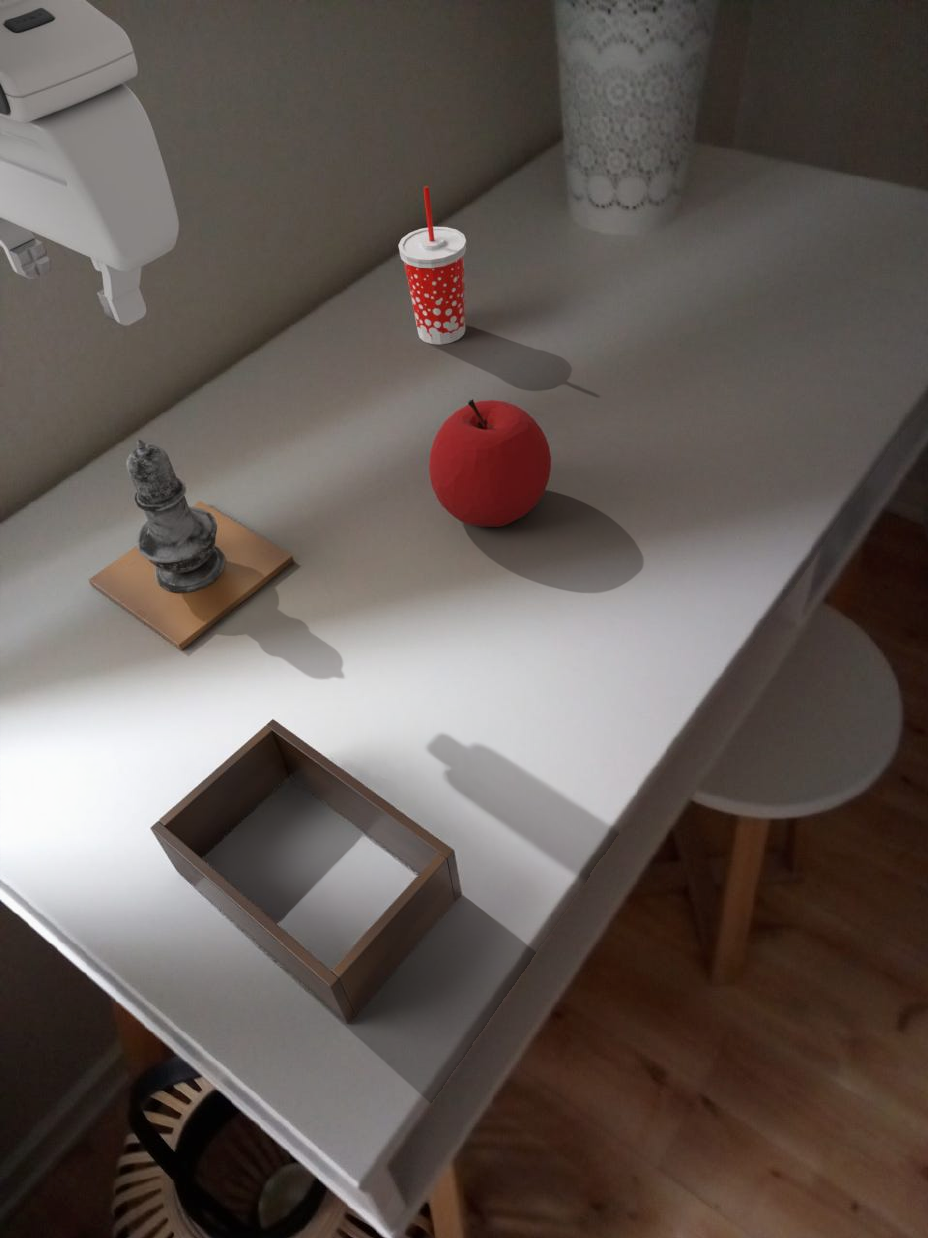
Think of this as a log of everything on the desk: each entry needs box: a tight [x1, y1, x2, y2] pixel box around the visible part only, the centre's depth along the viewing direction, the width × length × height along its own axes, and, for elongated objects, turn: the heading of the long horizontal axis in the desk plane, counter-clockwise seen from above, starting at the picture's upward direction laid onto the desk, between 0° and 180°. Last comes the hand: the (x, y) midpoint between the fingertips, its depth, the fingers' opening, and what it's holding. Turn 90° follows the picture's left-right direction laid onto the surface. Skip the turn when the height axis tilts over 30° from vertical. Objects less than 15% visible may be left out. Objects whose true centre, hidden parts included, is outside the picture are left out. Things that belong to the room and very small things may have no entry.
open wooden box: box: [150, 718, 463, 1025], centre depth 54 cm, size 9×14×5 cm, turn 50°
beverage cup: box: [397, 185, 467, 346], centre depth 89 cm, size 6×6×14 cm
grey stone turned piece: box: [126, 439, 225, 593], centre depth 69 cm, size 6×6×12 cm
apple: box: [428, 398, 552, 528], centre depth 72 cm, size 9×9×10 cm
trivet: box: [88, 500, 294, 651], centre depth 74 cm, size 11×11×1 cm
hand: (80, 294), depth 57 cm, fingers open, 8 cm apart
